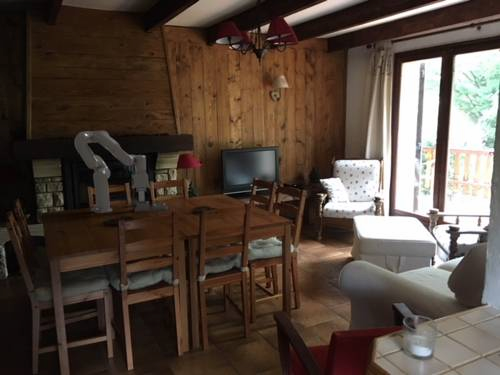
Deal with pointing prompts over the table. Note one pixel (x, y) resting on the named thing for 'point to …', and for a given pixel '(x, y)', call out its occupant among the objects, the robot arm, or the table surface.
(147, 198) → the magazine
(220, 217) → the table surface
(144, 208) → the socket panel
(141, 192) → the plug
